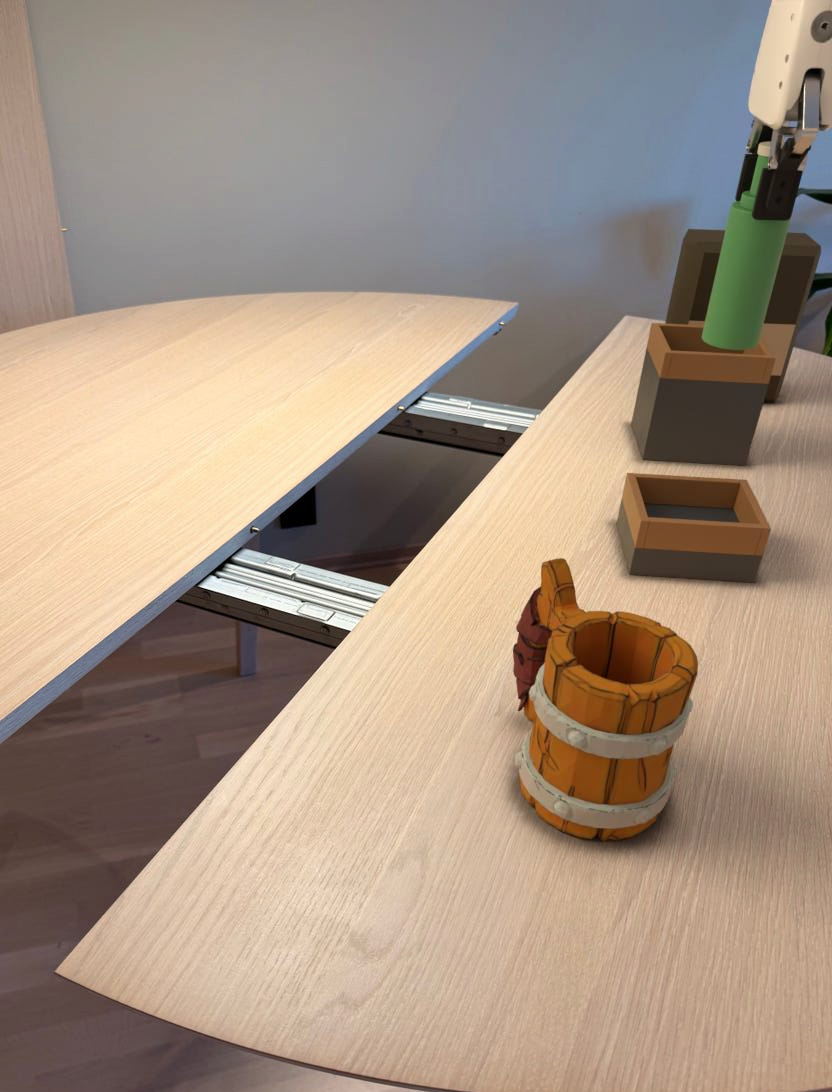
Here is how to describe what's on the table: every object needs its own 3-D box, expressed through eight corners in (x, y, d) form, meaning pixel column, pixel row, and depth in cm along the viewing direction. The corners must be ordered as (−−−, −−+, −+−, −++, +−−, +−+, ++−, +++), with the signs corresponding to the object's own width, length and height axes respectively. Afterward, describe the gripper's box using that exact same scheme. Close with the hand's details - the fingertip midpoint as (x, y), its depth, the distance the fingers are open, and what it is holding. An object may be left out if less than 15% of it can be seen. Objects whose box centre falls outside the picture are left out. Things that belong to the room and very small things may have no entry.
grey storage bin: (727, 430, 123) (754, 327, 116) (745, 465, 115) (776, 358, 108) (630, 424, 124) (651, 322, 116) (642, 459, 116) (665, 352, 108)
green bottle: (750, 332, 96) (799, 139, 86) (764, 351, 92) (817, 151, 81) (696, 330, 96) (738, 138, 86) (707, 349, 92) (753, 149, 82)
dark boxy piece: (649, 377, 137) (690, 184, 122) (765, 382, 137) (820, 188, 122) (661, 399, 131) (705, 199, 116) (782, 405, 130) (842, 204, 115)
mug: (572, 867, 66) (611, 695, 57) (455, 718, 78) (472, 557, 69) (700, 821, 69) (756, 652, 61) (570, 686, 81) (600, 528, 73)
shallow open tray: (732, 531, 103) (746, 479, 99) (754, 582, 95) (771, 528, 91) (616, 523, 104) (626, 472, 100) (629, 574, 96) (640, 520, 92)
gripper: (913, -33, 69) (835, 237, 80) (836, -42, 83) (778, 190, 94) (804, -34, 69) (741, 235, 80) (745, -43, 83) (698, 188, 94)
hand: (761, 208), depth 87 cm, fingers closed on green bottle, 5 cm apart
